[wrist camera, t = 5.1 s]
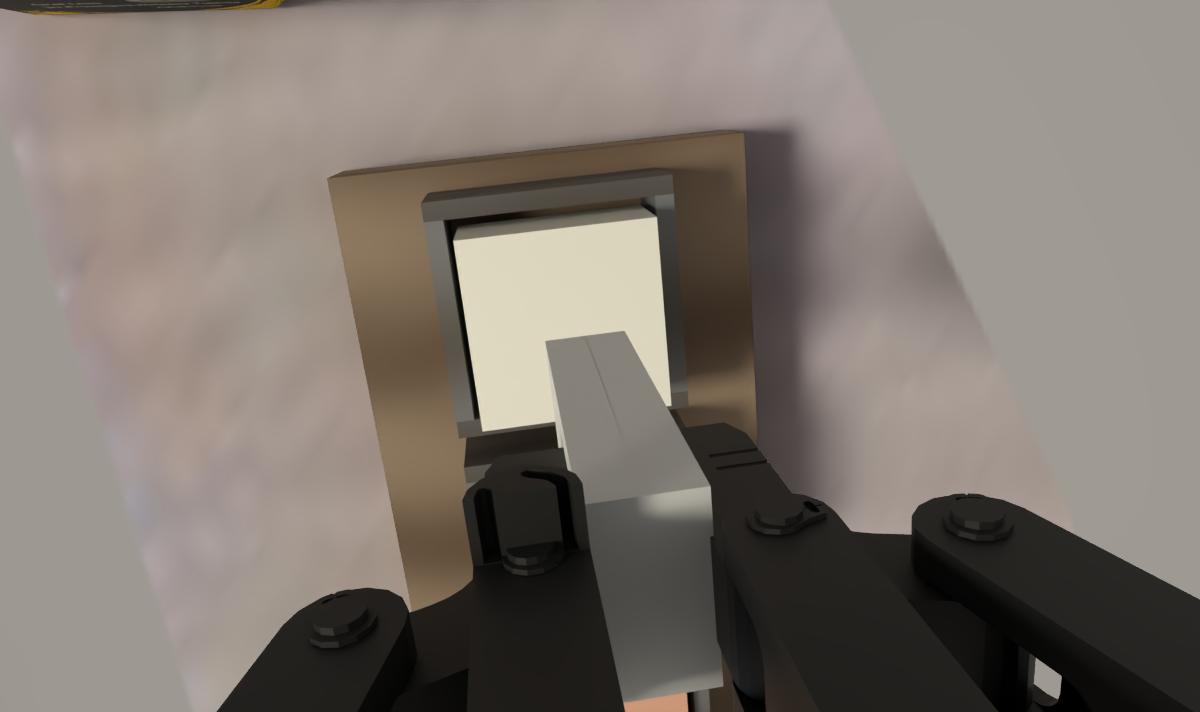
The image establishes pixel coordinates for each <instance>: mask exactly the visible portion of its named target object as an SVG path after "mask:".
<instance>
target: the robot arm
mask: <svg viewBox="0 0 1200 712" xmlns="http://www.w3.org/2000/svg"><path fill="white" fill-rule="evenodd" d="M545 344H546V352H547V360H548V368H549V376H550V384H551V392H552V400H553V408H554V416H555V424H556V432H557V440H558V448H555V449H548V450H541V451H534V452H527V453H519V454H512V455H505V456H499V457H498V458H497V459H496V460H495V461H494V463H493V464H492V465H491V466H490V467H489V468H488V470H487V471H486V472H485V478H482V479H480V480H479V481H478V482H476V483H475V484H474V485H473V486H471V487H470V488H469V489H467V491H466V493H465V495H464V498H463V500H462V504H463V510H464V516H465V522H466V528H467V533H468V539H469V545H470V551H471V557H472V563H473V580H471V581H470V582H469V583H468V584H467V585H466V586H465V587H464V588H463V589H461V590H460V591H458V592H456V593H455V594H453V595H452V596H450V597H448V598H446V599H444V600H442V601H439V602H437V603H435V604H432V605H430V606H427V607H424V608H421V609H419V610H416V611H413V612H410V613H409V610H408V608H407V606H406V604H405V602H404V600H403V598H402V597H400V596H398V595H396V594H395V593H393V592H391V591H389V590H383V589H374V588H362V589H354V590H344V591H339V592H335V593H336V594H330V595H327V596H325V597H322V598H320V599H319V600H317V601H315V602H313V603H312V604H310V605H308V606H306V607H305V608H303V609H301V610H299V611H298V612H297V613H296V614H295V615H294V616H292V617H291V618H290V619H289V620H288V621H287V622H286V623H285V624H284V625H283V626H282V627H281V628H280V630H279V631H278V632H277V634H276V635H275V636H274V638H273V639H272V640H271V642H270V643H269V644H268V645H267V647H266V648H265V649H264V651H263V652H262V653H261V655H260V656H259V657H258V659H257V660H256V661H255V662H254V664H253V665H252V666H251V668H250V669H249V670H248V672H247V673H246V674H245V675H244V677H243V678H242V679H241V681H240V682H239V683H238V685H237V686H236V687H235V689H234V690H233V691H232V692H231V694H230V695H229V696H228V698H227V699H226V700H225V702H224V703H223V704H222V706H221V707H220V708H219V709H218V711H217V712H625V708H624V703H628V702H634V701H640V700H646V699H651V698H657V697H663V696H669V695H675V694H681V693H687V692H693V691H699V690H705V689H711V688H717V687H723V672H722V656H721V652H722V654H723V657H724V659H725V662H726V664H727V666H728V669H729V671H730V674H731V676H732V693H733V709H734V712H1200V600H1199V599H1198V598H1196V597H1193V596H1192V595H1190V594H1188V593H1186V592H1184V591H1182V590H1180V589H1178V588H1176V587H1174V586H1173V585H1170V584H1168V583H1167V582H1165V581H1163V580H1161V579H1159V578H1157V577H1155V576H1153V575H1151V574H1149V573H1148V572H1145V571H1144V570H1142V569H1140V568H1138V567H1136V566H1134V565H1132V564H1130V563H1128V562H1126V561H1124V560H1123V559H1121V558H1118V557H1117V556H1115V555H1113V554H1111V553H1109V552H1107V551H1105V550H1103V549H1101V548H1099V547H1097V546H1096V545H1094V544H1092V543H1090V542H1088V541H1086V540H1084V539H1082V538H1080V537H1078V536H1076V535H1075V534H1073V533H1071V532H1069V531H1067V530H1065V529H1063V528H1061V527H1059V526H1057V525H1055V524H1053V523H1051V522H1050V521H1048V520H1046V519H1044V518H1042V517H1040V516H1038V515H1036V514H1034V513H1032V512H1030V511H1028V510H1027V509H1025V508H1022V507H1020V506H1017V505H1014V504H1012V503H1009V502H1007V501H1004V500H1001V499H995V498H990V497H985V496H984V495H980V494H968V495H965V494H953V495H950V496H944V497H939V498H933V499H931V500H929V501H927V502H925V503H923V504H921V505H919V506H918V507H917V509H916V510H915V512H914V513H913V515H912V535H905V534H873V533H861V532H853V531H851V530H850V529H849V528H848V527H847V526H846V524H845V523H844V522H843V521H842V519H841V518H840V517H839V516H838V515H837V513H836V512H835V511H834V510H833V509H831V508H830V507H829V506H827V505H826V504H825V503H823V502H822V501H819V500H816V499H813V498H811V497H808V496H805V495H799V494H792V493H791V492H790V490H789V489H788V488H787V486H786V485H785V484H784V482H783V481H782V480H781V478H780V477H779V476H778V474H777V473H776V472H775V470H774V469H773V468H772V466H771V465H770V464H769V463H767V460H766V458H765V457H764V456H763V454H762V453H761V452H760V451H758V448H757V446H756V445H755V444H754V442H753V441H752V440H751V438H750V437H749V436H748V434H747V433H745V432H743V431H741V430H739V429H737V428H735V427H733V426H731V425H729V424H727V423H725V422H722V423H715V424H708V425H701V426H694V427H687V428H680V429H679V428H678V426H677V425H676V423H675V421H674V419H673V417H672V416H671V414H670V412H669V410H668V408H667V407H666V405H665V403H664V401H663V399H662V398H661V396H660V394H659V392H658V390H657V388H656V387H655V385H654V383H653V381H652V379H651V378H650V376H649V374H648V372H647V370H646V369H645V367H644V365H643V363H642V361H641V360H640V358H639V356H638V354H637V352H636V351H635V349H634V347H633V345H632V343H631V342H630V340H629V338H628V336H627V334H626V333H625V331H618V332H610V333H603V334H595V335H587V336H580V337H572V338H564V339H556V340H549V341H545ZM1036 658H1037V659H1039V660H1040V661H1041V662H1043V663H1044V664H1046V665H1047V666H1048V667H1050V668H1051V669H1053V670H1054V671H1055V672H1057V673H1059V674H1060V675H1061V676H1062V680H1061V691H1060V696H1059V699H1056V698H1054V697H1052V696H1050V695H1048V694H1046V693H1045V692H1044V691H1042V690H1041V689H1040V688H1039V687H1037V686H1036V685H1034V673H1035V659H1036Z"/></svg>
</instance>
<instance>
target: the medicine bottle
mask: <svg viewBox="0 0 1200 712" xmlns="http://www.w3.org/2000/svg"><path fill="white" fill-rule="evenodd" d="M282 2H283V0H0V8H2V9H7V10H12V11H18V12H23V13H28V14H34V15H50V14H85V13H119V12H154V11H188V10H223V9H258V8H274V7H277V6H279V5H280V4H281V3H282Z"/></svg>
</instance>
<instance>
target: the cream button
mask: <svg viewBox="0 0 1200 712" xmlns="http://www.w3.org/2000/svg"><path fill="white" fill-rule="evenodd" d="M453 243H454V250H455V256H456V263H457V269H458V276H459V282H460V289H461V295H462V302H463V308H464V315H465V321H466V328H467V334H468V341H469V347H470V354H471V360H472V366H473V373H474V379H475V386H476V392H477V399H478V405H479V412H480V418H481V425H482V431H483V432H484V431H491V430H498V429H506V428H513V427H520V426H527V425H535V424H542V423H549V422H555V416H554V408H553V400H552V392H551V384H550V376H549V368H548V360H547V352H546V344H545V341H549V340H556V339H564V338H572V337H580V336H587V335H595V334H603V333H610V332H618V331H625V333H626V334H627V336H628V338H629V340H630V342H631V343H632V345H633V347H634V349H635V351H636V352H637V354H638V356H639V358H640V360H641V361H642V363H643V365H644V367H645V369H646V370H647V372H648V374H649V376H650V378H651V379H652V381H653V383H654V385H655V387H656V388H657V390H658V392H659V394H660V396H661V398H662V399H663V401H664V403H665V405H666V406H671V393H670V380H669V367H668V354H667V341H666V328H665V315H664V302H663V289H662V276H661V263H660V251H659V238H658V225H657V217H656V216H655V215H653V214H652V213H651V212H649V211H648V210H647V209H645V208H644V207H642V206H641V205H635V206H626V207H618V208H609V209H600V210H592V211H583V212H575V213H566V214H557V215H549V216H540V217H531V218H523V219H514V220H506V221H497V222H488V223H480V224H471V225H463V226H458V227H457V230H456V233H455V237H454V240H453Z"/></svg>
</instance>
